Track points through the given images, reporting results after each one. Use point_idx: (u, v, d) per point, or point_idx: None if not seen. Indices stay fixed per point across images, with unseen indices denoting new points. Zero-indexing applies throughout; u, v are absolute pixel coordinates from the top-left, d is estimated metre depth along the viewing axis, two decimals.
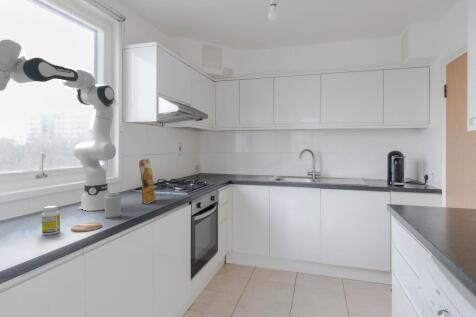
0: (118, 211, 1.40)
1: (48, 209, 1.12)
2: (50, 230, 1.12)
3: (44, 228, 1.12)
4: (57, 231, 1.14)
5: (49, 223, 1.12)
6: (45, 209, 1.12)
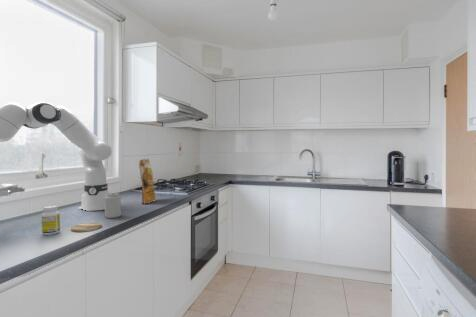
0: (118, 211, 1.40)
1: (48, 209, 1.12)
2: (50, 230, 1.12)
3: (44, 228, 1.12)
4: (57, 231, 1.14)
5: (49, 223, 1.12)
6: (45, 209, 1.12)
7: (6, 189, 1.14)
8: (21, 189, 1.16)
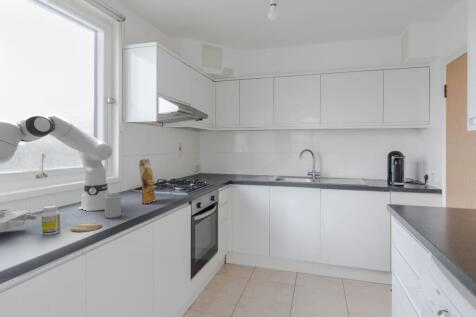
0: (118, 211, 1.40)
1: (48, 209, 1.12)
2: (50, 230, 1.12)
3: (44, 228, 1.12)
4: (57, 231, 1.14)
5: (49, 223, 1.12)
6: (45, 209, 1.12)
7: (19, 217, 1.15)
8: (34, 217, 1.17)
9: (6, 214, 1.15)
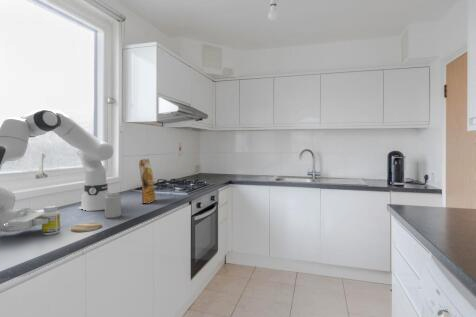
0: (118, 211, 1.40)
1: (48, 209, 1.12)
2: (50, 230, 1.12)
3: (44, 228, 1.12)
4: (57, 231, 1.14)
5: (49, 223, 1.12)
6: (45, 209, 1.12)
7: None
8: None
9: (29, 213, 1.16)
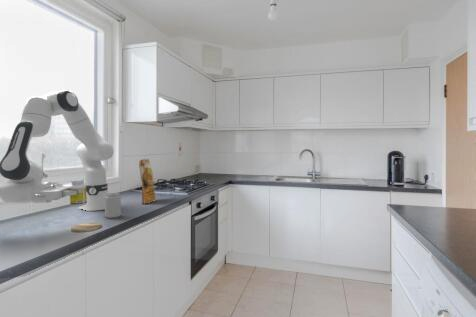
0: (118, 211, 1.40)
1: (76, 182, 1.17)
2: (78, 202, 1.17)
3: (72, 200, 1.17)
4: (84, 203, 1.19)
5: (77, 195, 1.17)
6: (73, 182, 1.17)
7: (69, 189, 1.22)
8: None
9: (57, 186, 1.21)
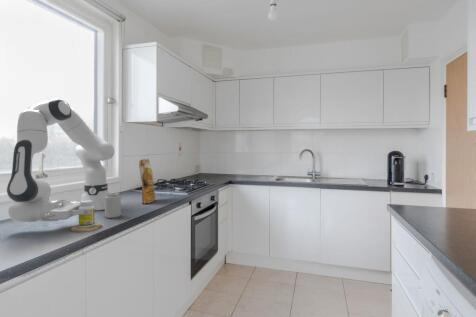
0: (118, 211, 1.40)
1: (85, 203, 1.19)
2: (87, 223, 1.19)
3: (81, 221, 1.19)
4: (92, 224, 1.21)
5: (85, 216, 1.19)
6: (82, 203, 1.19)
7: (77, 207, 1.23)
8: None
9: (65, 204, 1.23)
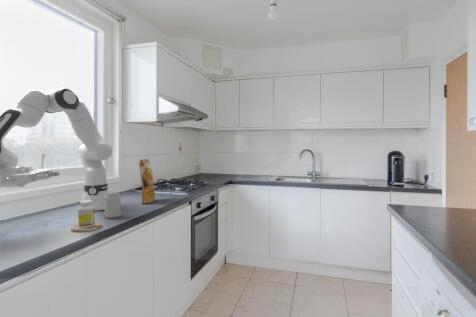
0: (118, 211, 1.40)
1: (84, 203, 1.19)
2: (87, 223, 1.19)
3: (81, 221, 1.19)
4: (92, 224, 1.21)
5: (85, 217, 1.19)
6: (82, 203, 1.19)
7: (43, 173, 1.21)
8: (56, 173, 1.23)
9: (30, 170, 1.20)
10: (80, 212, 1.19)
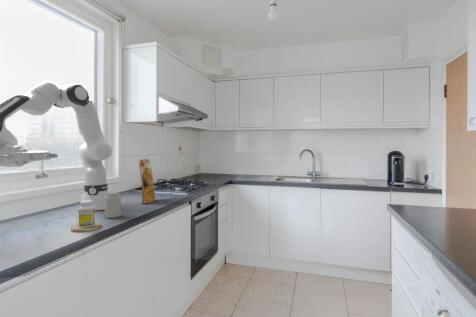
0: (118, 211, 1.40)
1: (85, 203, 1.19)
2: (87, 223, 1.19)
3: (81, 221, 1.19)
4: (92, 224, 1.21)
5: (85, 216, 1.19)
6: (82, 203, 1.19)
7: None
8: (55, 155, 1.22)
9: (28, 151, 1.20)
10: (80, 212, 1.19)
